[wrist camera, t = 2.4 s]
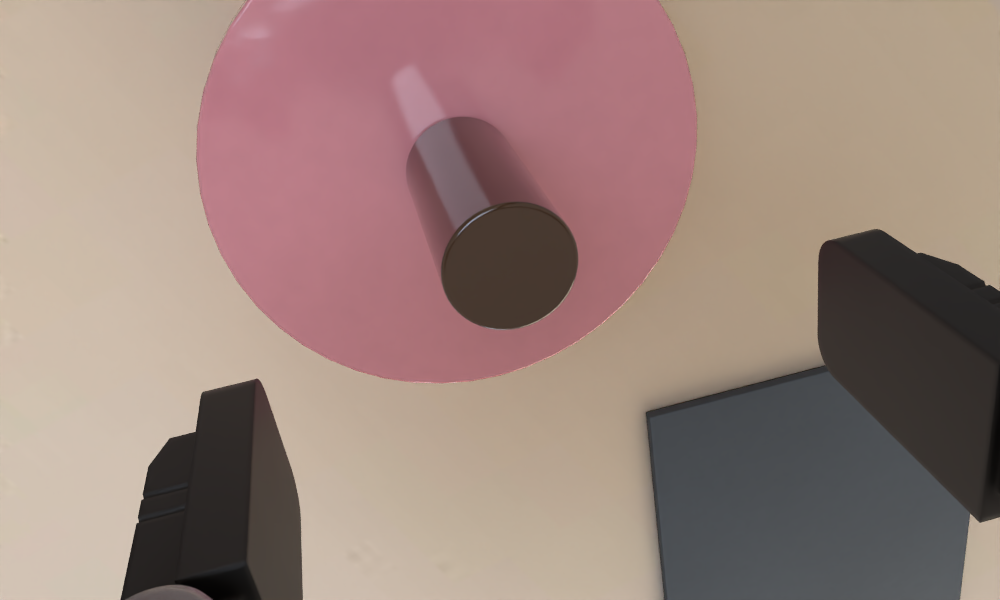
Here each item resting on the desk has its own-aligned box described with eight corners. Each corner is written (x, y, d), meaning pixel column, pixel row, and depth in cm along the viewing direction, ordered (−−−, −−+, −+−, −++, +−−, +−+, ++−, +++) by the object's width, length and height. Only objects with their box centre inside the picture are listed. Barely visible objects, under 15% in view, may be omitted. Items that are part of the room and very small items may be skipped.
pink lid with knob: (125, -52, 18) (54, 4, 12) (661, -155, 19) (817, -146, 14) (278, 405, 23) (277, 588, 18) (691, 303, 24) (811, 444, 19)
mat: (645, 412, 35) (649, 418, 34) (985, 323, 36) (992, 328, 36) (678, 747, 44) (682, 755, 44) (946, 667, 46) (951, 673, 45)
